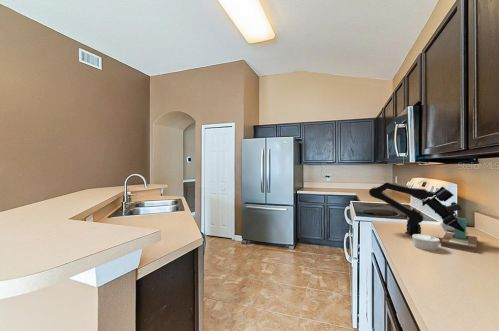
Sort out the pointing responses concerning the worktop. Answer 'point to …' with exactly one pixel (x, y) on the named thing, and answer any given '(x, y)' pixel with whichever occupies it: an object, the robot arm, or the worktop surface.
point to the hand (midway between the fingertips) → (463, 229)
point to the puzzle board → (459, 242)
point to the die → (445, 227)
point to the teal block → (463, 223)
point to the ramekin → (425, 242)
